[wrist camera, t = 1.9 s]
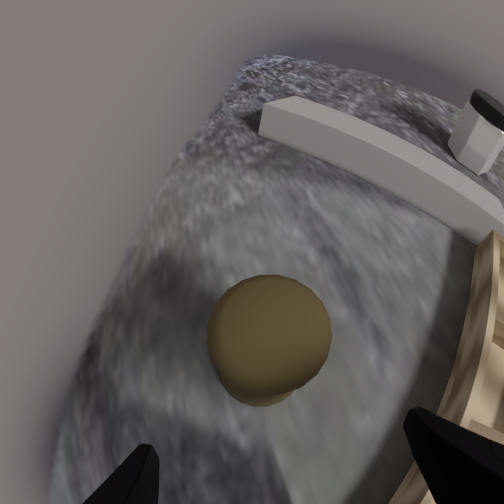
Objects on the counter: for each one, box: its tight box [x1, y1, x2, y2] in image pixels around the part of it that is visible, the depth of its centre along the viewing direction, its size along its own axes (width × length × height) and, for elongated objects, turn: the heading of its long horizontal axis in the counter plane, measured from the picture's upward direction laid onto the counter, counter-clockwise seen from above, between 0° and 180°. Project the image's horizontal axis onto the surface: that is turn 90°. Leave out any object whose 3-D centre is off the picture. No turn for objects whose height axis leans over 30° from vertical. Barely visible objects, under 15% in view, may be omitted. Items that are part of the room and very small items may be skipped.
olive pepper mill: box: [207, 275, 332, 407], centre depth 15 cm, size 6×6×11 cm
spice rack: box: [388, 229, 504, 504], centre depth 15 cm, size 31×11×4 cm, turn 146°
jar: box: [447, 89, 504, 175], centre depth 30 cm, size 9×8×12 cm
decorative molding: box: [258, 96, 504, 246], centre depth 31 cm, size 34×5×10 cm
